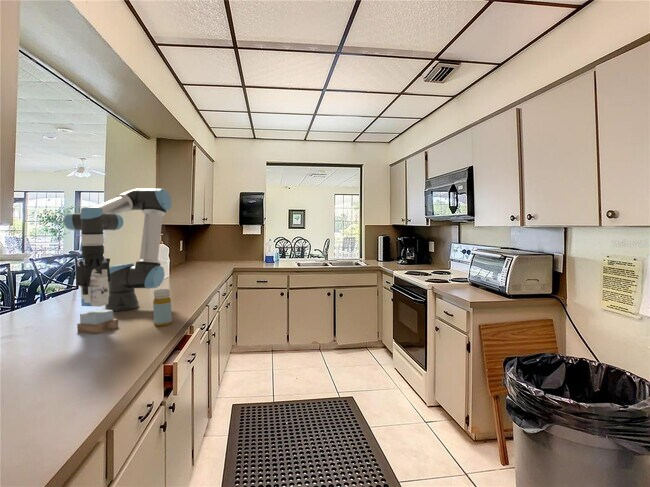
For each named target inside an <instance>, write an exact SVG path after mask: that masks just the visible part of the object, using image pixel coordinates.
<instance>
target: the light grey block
mask: <svg viewBox="0 0 650 487" xmlns="http://www.w3.org/2000/svg"><path fill="white" fill-rule="evenodd" d="M113 319H114V311H113V310H105V309H99V308H96V309H93V310H90V311H85V312H82V313H79V323H80V324H92V325H97V324H101V323H104V322H107V321H110V320H113Z"/></svg>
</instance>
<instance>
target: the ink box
mask: <svg viewBox="0 0 650 487" xmlns="http://www.w3.org/2000/svg"><path fill="white" fill-rule="evenodd" d="M89 286H90V287H91V303H85V302H84V295H83V291H82V287H81V286H80V297H81V298H80V299H81V301H80V303H81V307H103V306H105V305H107V304H108V296H109V285H108V277H107V269H102V275H101V274H100V273H97V271H96V269H95V268H94V269H93V270H92V273H91V278H90V282H89Z"/></svg>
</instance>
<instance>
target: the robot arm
mask: <svg viewBox="0 0 650 487" xmlns="http://www.w3.org/2000/svg"><path fill="white" fill-rule="evenodd" d="M171 208H172V198H171V195H170V193H169V192H168V191H167V189H165V188H158V187H155V188H134V189H130V190H127V191H124V192H122V193H120V194H118V195H116V196H115V197H114V198H113V199H110V200H108V201H106V202H102V203H100V204H98V205H96V206H83V207H81V209H80V212H70V213H67V214H65V216H64V217H63V224H64V226H65V228H66V229H67V230H70V231H81V232H80V234H81V236H80V237H81V245H82V246H81V254H82V259H81V260H79V261H78V260H77V261H75V266H76V286H77V287H80V288H81V287H82V291H83V295H84V302H85V303H91V287H90V286H89V282H90V278H91V273H92V270H93V269H96V271H97V272H96V273H100V274H101V275H102V269H107V277H108V304H107V305H104V306H105V307H104V308H105V309H104V310H113V312H123V311H124V312H125V311H129V310H133V309H136V308H139V307H140V305H139V304H140V303H139V300H138V299H137V295H136V292H135V289H148V290H149V289H157V288H158V287H160V286H161V285H162V283H163V281H164V278H165V269H164V267H163V266H162V264H161V262H160V260H159V255H160V254H159V253H160V246H161V245H160V243H161V234H162V223H163V217H164V216H166V214H167V211H169V210H170V209H171ZM130 211H141V212H142V213H143V216H144V218H143V226H142V227H143V228H142V236H141V246H140V251H139V252H140V254H139V259H138V260H136V261H135V264H134V263H133V262H129V263H123V264H116V265H115V264H114V265H111V266H110V263H111V258H107V257H104V254H105V245H104V244H105V241H104V240H105V238H104V231H117V230H120V229H121V228H122V227H123V226H124V219H123V217H122V215H120V214H121V213H128V212H130Z"/></svg>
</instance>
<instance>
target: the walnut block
mask: <svg viewBox="0 0 650 487" xmlns="http://www.w3.org/2000/svg"><path fill="white" fill-rule="evenodd" d="M76 326H77V333H80V334H88V335H100V334H103V333H106V332H108V331H112V330H115V329H117V328H119V318H113V320H110V321H107V322H104V323H101V324H97V325H92V324H80V322H78V323H77V325H76Z"/></svg>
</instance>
